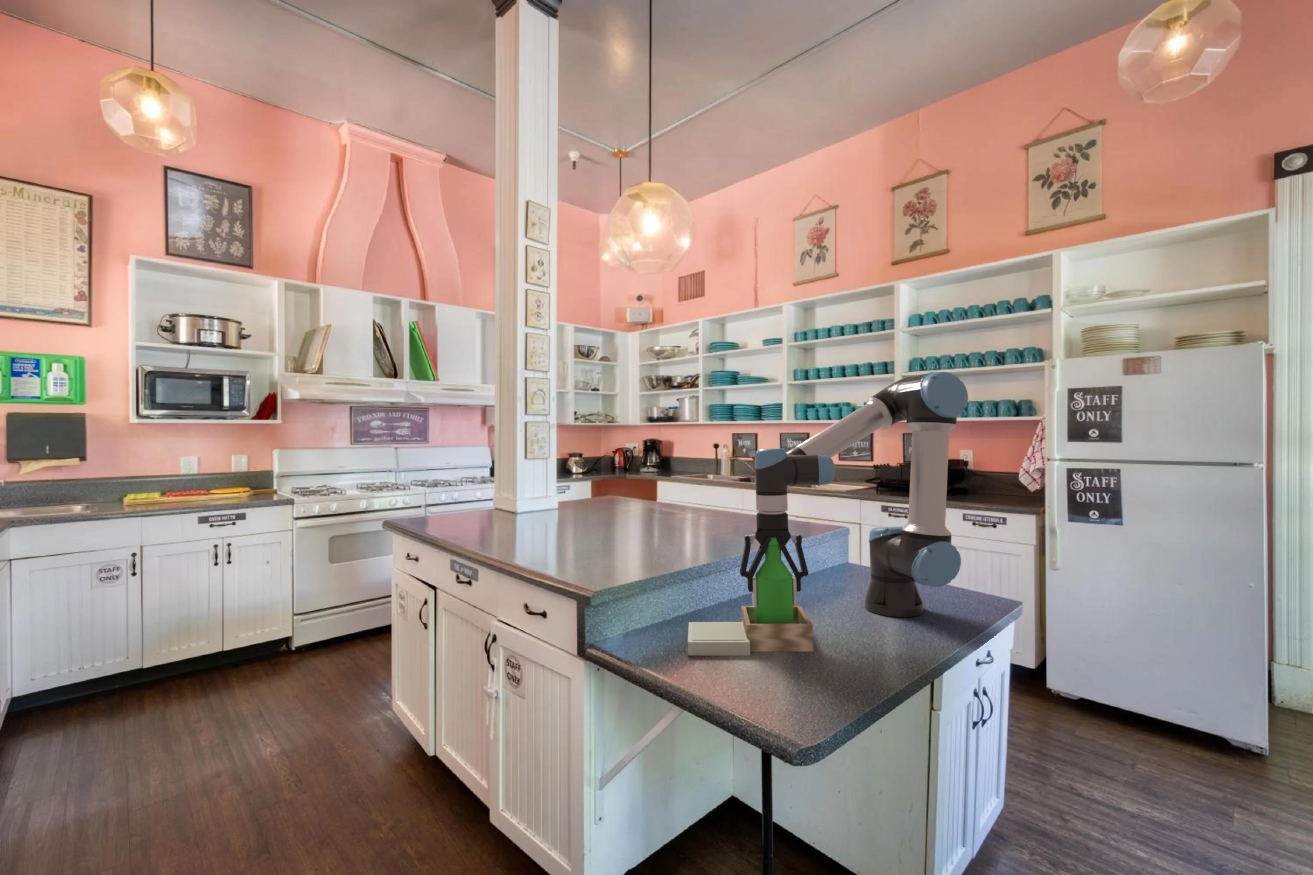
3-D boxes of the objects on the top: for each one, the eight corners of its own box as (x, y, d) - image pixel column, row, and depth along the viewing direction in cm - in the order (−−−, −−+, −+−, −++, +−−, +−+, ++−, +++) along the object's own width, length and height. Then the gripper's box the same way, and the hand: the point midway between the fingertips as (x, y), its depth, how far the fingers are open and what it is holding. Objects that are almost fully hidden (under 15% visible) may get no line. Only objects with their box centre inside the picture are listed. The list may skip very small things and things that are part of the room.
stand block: (745, 633, 140) (744, 621, 140) (750, 655, 126) (749, 641, 126) (689, 633, 141) (688, 621, 141) (688, 655, 127) (687, 641, 127)
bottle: (784, 648, 129) (781, 540, 129) (750, 641, 135) (747, 537, 135) (799, 637, 136) (797, 535, 136) (767, 631, 142) (764, 532, 142)
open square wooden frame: (801, 629, 142) (800, 605, 142) (813, 651, 127) (812, 625, 127) (741, 629, 143) (741, 605, 143) (747, 651, 128) (746, 625, 129)
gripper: (814, 509, 139) (816, 600, 138) (726, 510, 140) (728, 600, 140) (820, 513, 131) (823, 609, 131) (728, 514, 133) (730, 609, 133)
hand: (774, 604), depth 135 cm, fingers closed on bottle, 9 cm apart
